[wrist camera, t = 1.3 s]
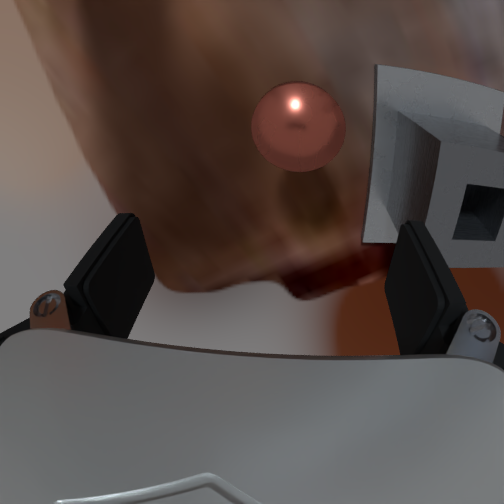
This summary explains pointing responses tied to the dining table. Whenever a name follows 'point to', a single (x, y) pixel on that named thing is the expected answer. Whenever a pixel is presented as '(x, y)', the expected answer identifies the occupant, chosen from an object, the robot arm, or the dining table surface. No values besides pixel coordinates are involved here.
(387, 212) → the receiver
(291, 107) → the pin
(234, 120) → the dining table surface
